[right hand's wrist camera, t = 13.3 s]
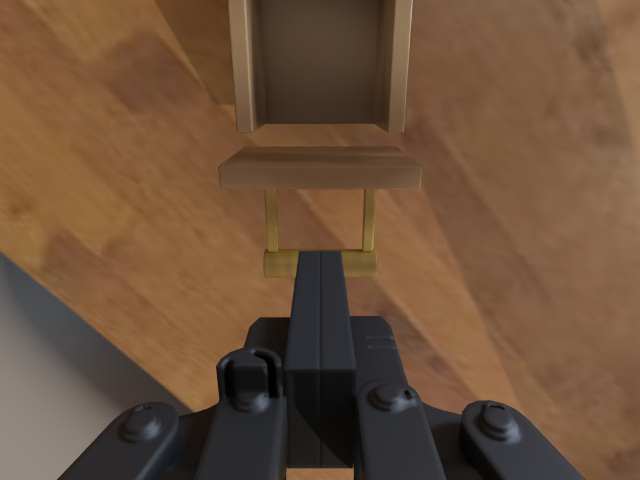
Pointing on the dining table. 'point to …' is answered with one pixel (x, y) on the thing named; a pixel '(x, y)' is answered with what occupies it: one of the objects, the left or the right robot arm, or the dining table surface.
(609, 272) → the dining table surface
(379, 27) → the drawer
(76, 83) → the dining table surface
